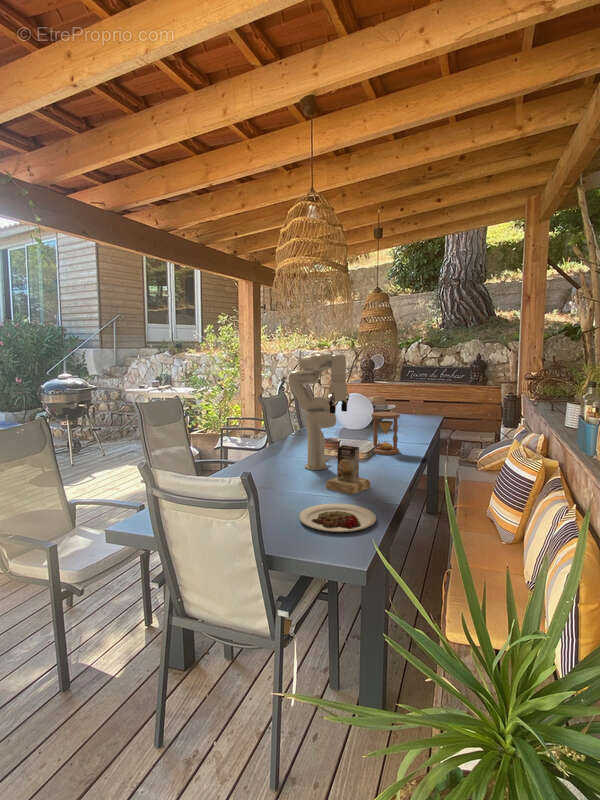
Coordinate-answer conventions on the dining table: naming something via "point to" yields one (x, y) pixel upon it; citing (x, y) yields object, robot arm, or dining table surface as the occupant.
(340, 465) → the coffee box
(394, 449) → the hourglass
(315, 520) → the plated food
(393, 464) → the dining table surface
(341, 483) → the sliced bread
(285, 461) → the dining table surface
